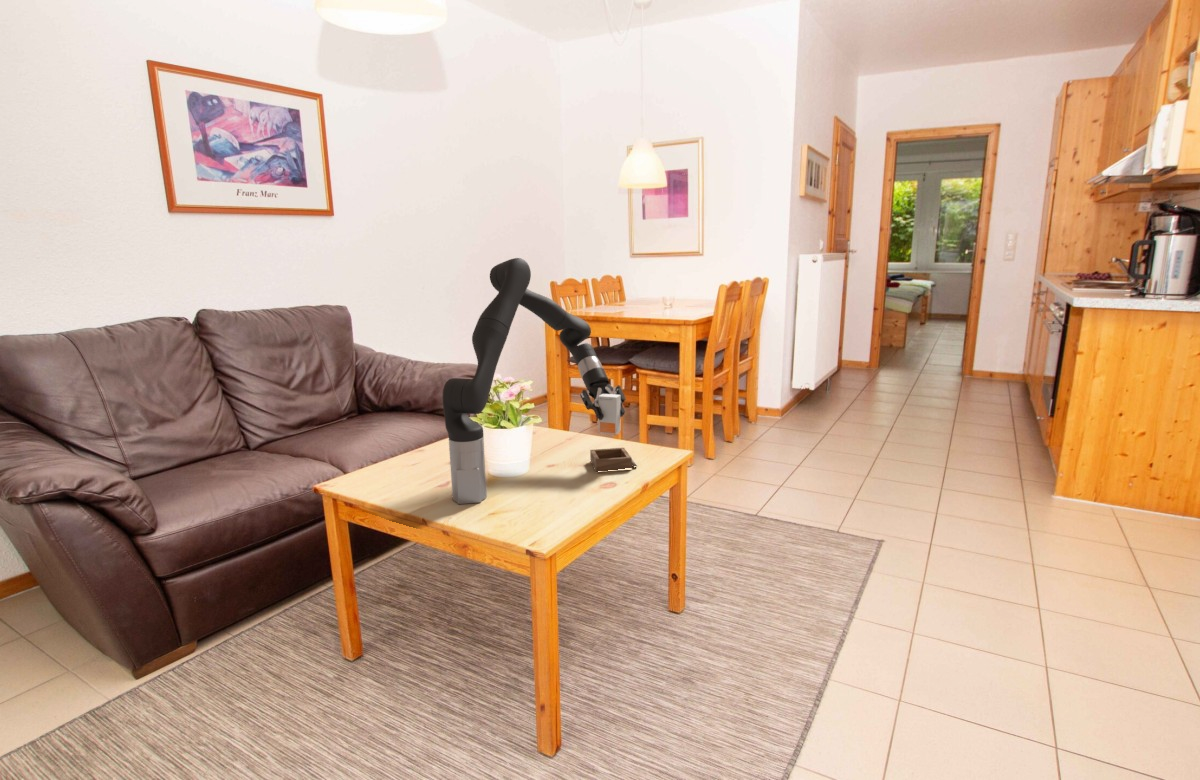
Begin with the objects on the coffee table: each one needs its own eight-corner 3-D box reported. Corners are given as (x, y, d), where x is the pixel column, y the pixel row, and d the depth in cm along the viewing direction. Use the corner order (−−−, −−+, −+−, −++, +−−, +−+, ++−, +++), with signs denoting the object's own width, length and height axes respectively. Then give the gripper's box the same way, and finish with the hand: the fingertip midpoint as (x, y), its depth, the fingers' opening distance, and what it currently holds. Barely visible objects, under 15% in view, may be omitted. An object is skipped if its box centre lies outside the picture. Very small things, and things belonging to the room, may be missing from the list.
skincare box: (598, 433, 195) (597, 396, 192) (602, 430, 199) (602, 393, 196) (616, 435, 193) (616, 397, 190) (621, 431, 197) (620, 394, 194)
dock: (638, 469, 194) (638, 457, 193) (596, 472, 192) (596, 460, 191) (630, 458, 204) (630, 447, 204) (590, 461, 202) (590, 449, 201)
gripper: (576, 368, 194) (596, 413, 187) (616, 364, 201) (636, 407, 194) (569, 382, 200) (587, 426, 193) (608, 378, 207) (627, 420, 200)
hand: (612, 416), depth 193 cm, fingers closed on skincare box, 7 cm apart
